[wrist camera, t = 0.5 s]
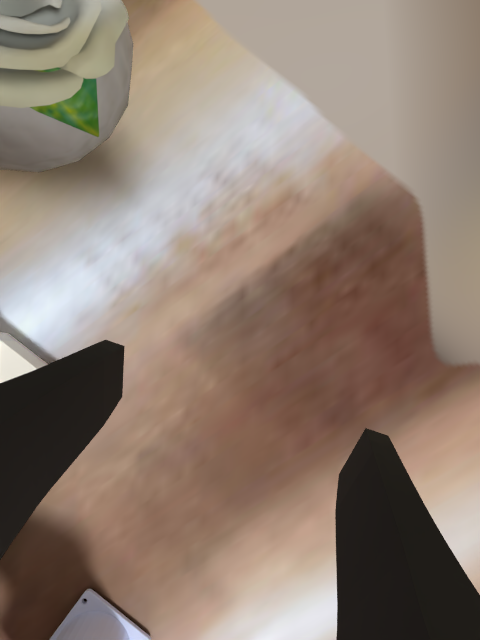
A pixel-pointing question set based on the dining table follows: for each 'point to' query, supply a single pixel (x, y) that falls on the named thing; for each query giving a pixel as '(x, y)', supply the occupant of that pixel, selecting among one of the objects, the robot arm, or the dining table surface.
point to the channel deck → (16, 358)
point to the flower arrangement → (60, 79)
